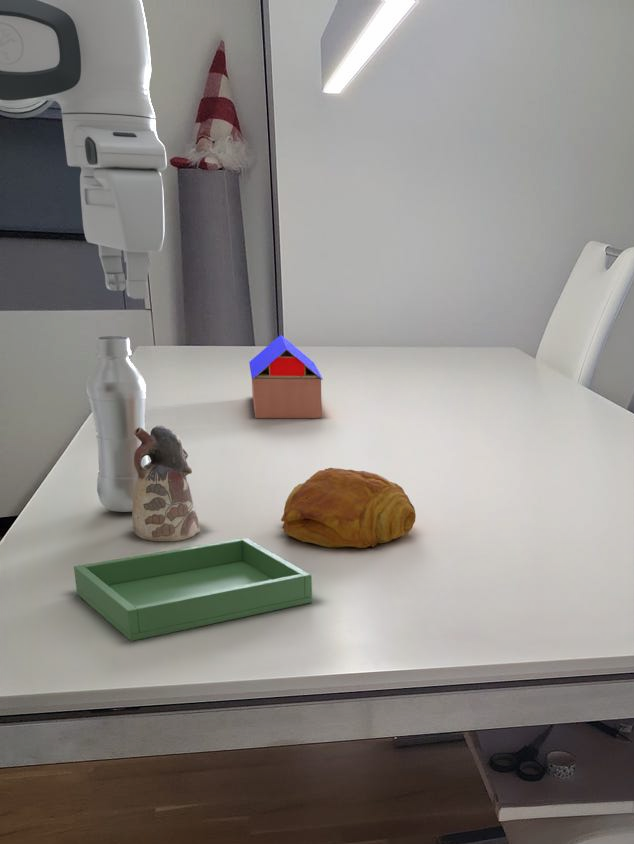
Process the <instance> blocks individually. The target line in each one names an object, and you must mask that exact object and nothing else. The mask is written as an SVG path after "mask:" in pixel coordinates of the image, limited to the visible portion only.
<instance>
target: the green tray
mask: <svg viewBox="0 0 634 844" xmlns="http://www.w3.org/2000/svg"><path fill="white" fill-rule="evenodd" d="M73 570H74V571H73V572H74V580H75V589H76V595H78V596H79V597H80V598H81V599H82V600H83V601H85V602H86V603H87V604H88V605H89V606H90V607H91V608H92V609H94V611H96V612H97V613H98V614H99V615H101V617H102V618H104V619H105V620H106V621H107V622H108V623H110V624H111V625H112V626H113V627H114V628H115V629H117V631H118V632H120V633H121V634H122V635H123V636H124V637H125V638H127V639H128V640H129V641H130V642H133V641H139V640H143V639H149V638H153V637H158V636H161V635H162V636H163V635H166V634H171V633H176V632H181V631H184V630H189V629H194V628H199V627H203V626H209V625H212V624H217V623H221V622H222V623H223V622H227V621H232V620H236V619H241V618H245V617H250V616H255V615H259V614H263V613H264V614H265V613H269V612H273V611H279V610H283V609H287V608H292V607H296V606H302V605H305V604H306V605H307V604H311V603H313V597H312V596H313V583H312V582H313V581H312V577H313V576H312V574H310V573H309V572H307V571H305V570H304V569H302V568H300V567H298V566H297V565H295V564H293V563H291V562H289V561H288V560H286V559H284V558H282V557H281V556H279V555H277V554H275V553H274V552H272V551H270V550H268V549H266V548H265V547H264V546H261V545H259V544H258V543H256V542H254V541H252V540H251V539H249V538H247V537H241V538H236V539H229V540H224V541H217V542H212V543H206V544H200V545H194V546H188V547H182V548H175V549H169V550H163V551H157V552H152V553H145V554H140V555H132V556H127V557H122V558H115V559H109V560H102V561H98V562H92V563H85V564H78V565H73Z"/></svg>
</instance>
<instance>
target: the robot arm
mask: <svg viewBox="0 0 634 844" xmlns="http://www.w3.org/2000/svg"><path fill="white" fill-rule="evenodd" d="M147 27H148V26H147V20H146V15H145V11H144V5H143V1H142V0H0V115H1V116H3V117H7V118H11V119H26V118H31V117H35V116H37V115H39V114H41V113H43V112H44V111H46V110H48V108H50V107H51V106H52V104H53V103H54V102H56V103H57V104H58V105H59V107H60V111H61V118H62V119H61V121H62V128H63V139H64V146H65V155H66V156H65V157H66V164H67V166H68V167H73V168H74V167H75V168H80V170H81V171H80V174H79V193H80V204H81V205H80V206H81V217H82V229H83V233H84V238H85V240H86V243H89V244H94V245H97V247H98V257H99V260H100V263H101V267H102V269H103V273H104V280H105V288H107V290H109V291H113V292H122V291H125V290H126V295H127V297H128V298H130V299H133V300H145V299H147V298H148V296H149V291H148V290H149V289H148V277H149V275H148V274H149V268H150V267H149V266H150V257H149V253H160V252H161V251H162V250H163V245H164V241H165V240H164V239H165V198H164V196H165V195H164V181H163V176H162V172H160V171H165V170H167V167H168V160H167V150H166V146H165V145H164V144H163V143H162V142H161V141H160V139H159V138H158V137H159V136H158V133H157V122H156V114H155V111H154V107H153V105H152V102H151V97H150V90H149V89H150V80H151V75H152V64H151V63H152V62H151V51H150V43H149V35H148V34H149V33H148V28H147ZM122 251H123V254H122ZM122 255H123V259H124V263H125V267H126V268H125V269H126V275H125V273H124V270H123V264H122Z"/></svg>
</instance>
